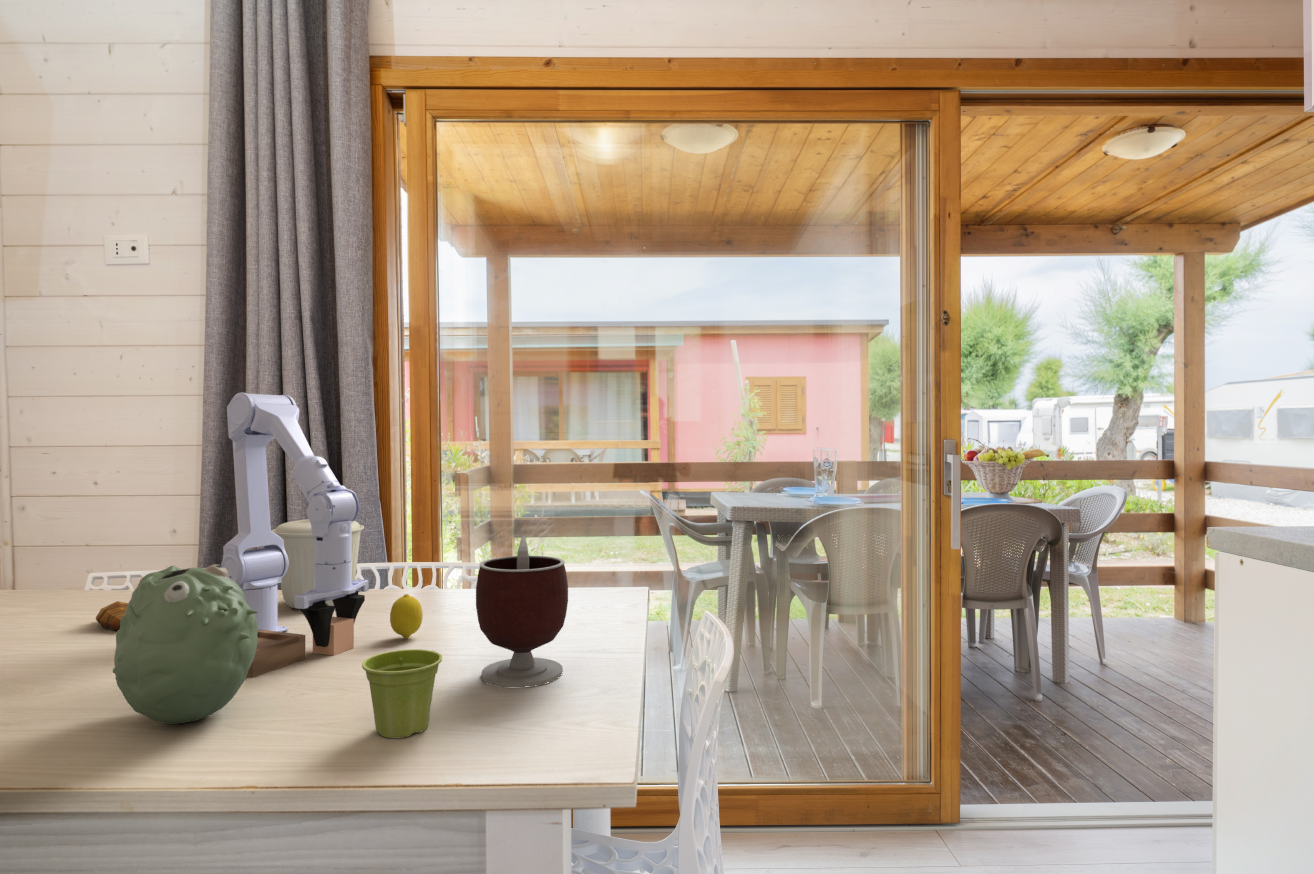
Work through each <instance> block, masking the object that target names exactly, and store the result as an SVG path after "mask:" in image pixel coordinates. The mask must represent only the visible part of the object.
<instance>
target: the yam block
mask: <svg viewBox="0 0 1314 874" xmlns="http://www.w3.org/2000/svg"><path fill="white" fill-rule="evenodd" d="M354 628H355V623H354V619H351V618H342V617H336V616H332V619H331V625H330V638H329V644H328V646H326V647H321V646H316V644H315V641H314V637H313V636H312V653H313V654H322V655H328V656H336V655H339V654H341V653H344V652H347V651H349V649H350V650H352V649H354V647H355V637H354V636H355V635H354V631H355V629H354ZM351 648H352V649H351ZM346 650H347V651H346Z"/></svg>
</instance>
